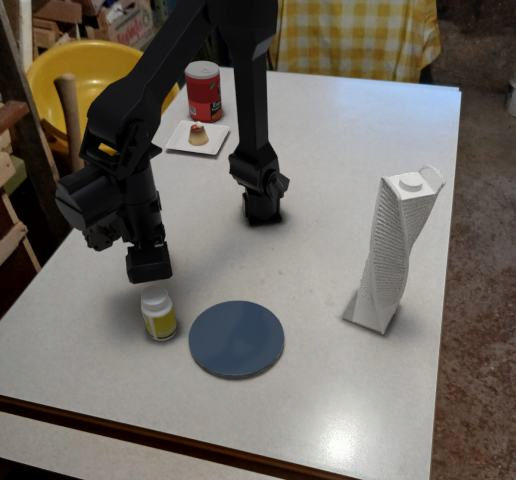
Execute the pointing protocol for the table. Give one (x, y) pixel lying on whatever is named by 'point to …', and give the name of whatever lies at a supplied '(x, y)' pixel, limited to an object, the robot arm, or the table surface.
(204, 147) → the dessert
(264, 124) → the robot arm
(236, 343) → the plate
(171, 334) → the supplement bottle
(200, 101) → the canned food
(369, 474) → the table surface
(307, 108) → the table surface
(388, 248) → the skyscraper
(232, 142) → the table surface
